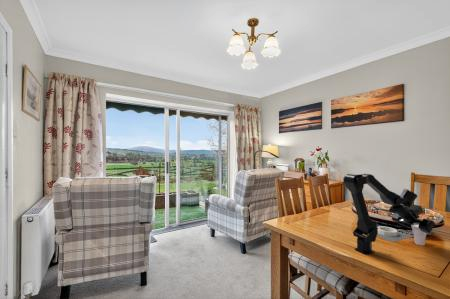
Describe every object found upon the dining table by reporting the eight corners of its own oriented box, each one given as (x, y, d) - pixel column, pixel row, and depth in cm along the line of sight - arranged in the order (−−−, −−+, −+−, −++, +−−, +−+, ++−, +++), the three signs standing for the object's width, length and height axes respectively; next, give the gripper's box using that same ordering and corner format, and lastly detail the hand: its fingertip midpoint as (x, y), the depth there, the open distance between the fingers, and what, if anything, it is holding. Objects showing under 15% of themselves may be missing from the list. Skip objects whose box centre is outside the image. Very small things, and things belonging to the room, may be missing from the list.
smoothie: (411, 244, 113) (410, 218, 114) (412, 241, 118) (411, 215, 118) (427, 248, 109) (426, 221, 109) (428, 244, 113) (427, 218, 113)
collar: (390, 237, 122) (390, 233, 122) (373, 231, 131) (373, 227, 131) (401, 234, 125) (401, 230, 126) (383, 229, 134) (383, 225, 134)
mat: (393, 242, 116) (393, 242, 116) (361, 231, 133) (361, 230, 133) (414, 236, 124) (414, 235, 124) (382, 227, 140) (382, 226, 140)
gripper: (431, 204, 104) (450, 225, 106) (395, 196, 122) (411, 214, 124) (419, 221, 102) (438, 242, 104) (383, 211, 121) (400, 229, 122)
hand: (421, 231), depth 114 cm, fingers open, 9 cm apart
